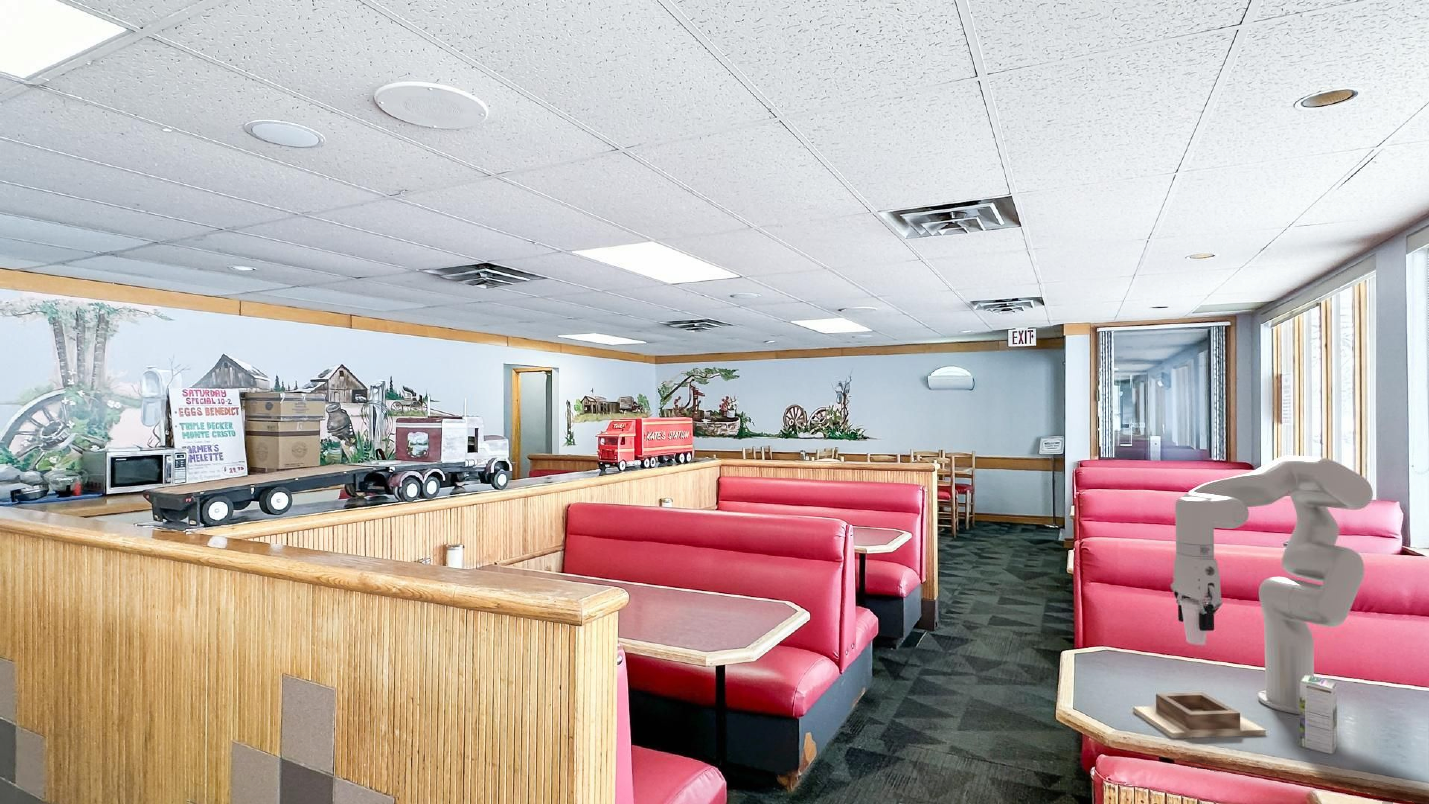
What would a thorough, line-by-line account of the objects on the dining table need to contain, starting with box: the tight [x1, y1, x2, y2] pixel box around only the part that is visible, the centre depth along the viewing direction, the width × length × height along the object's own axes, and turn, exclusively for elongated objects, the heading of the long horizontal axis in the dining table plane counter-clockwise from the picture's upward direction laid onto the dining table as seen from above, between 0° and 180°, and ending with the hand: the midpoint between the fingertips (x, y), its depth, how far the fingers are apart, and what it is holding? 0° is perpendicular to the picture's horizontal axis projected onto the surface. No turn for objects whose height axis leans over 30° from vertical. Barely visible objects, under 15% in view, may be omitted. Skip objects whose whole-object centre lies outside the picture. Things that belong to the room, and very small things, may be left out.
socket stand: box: [1132, 691, 1267, 739], centre depth 168 cm, size 22×14×5 cm, turn 93°
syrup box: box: [1299, 675, 1338, 755], centre depth 156 cm, size 6×6×14 cm
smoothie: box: [1178, 598, 1208, 646], centre depth 169 cm, size 6×6×14 cm
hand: (1195, 625), depth 169 cm, fingers closed on smoothie, 6 cm apart
